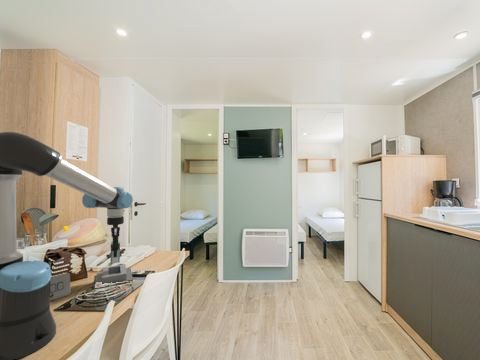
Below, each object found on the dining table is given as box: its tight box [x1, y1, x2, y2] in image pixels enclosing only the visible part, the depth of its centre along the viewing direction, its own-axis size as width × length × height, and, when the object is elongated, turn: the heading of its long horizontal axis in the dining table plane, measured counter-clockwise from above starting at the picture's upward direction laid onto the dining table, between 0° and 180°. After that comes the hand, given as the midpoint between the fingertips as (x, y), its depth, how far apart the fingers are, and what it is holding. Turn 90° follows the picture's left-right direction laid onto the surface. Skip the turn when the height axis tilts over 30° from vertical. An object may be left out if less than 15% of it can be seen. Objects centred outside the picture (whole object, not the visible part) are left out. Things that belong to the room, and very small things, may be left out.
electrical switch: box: [50, 272, 72, 302], centre depth 93 cm, size 9×5×9 cm, turn 141°
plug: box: [110, 240, 121, 265], centre depth 112 cm, size 4×4×10 cm
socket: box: [94, 263, 134, 284], centre depth 111 cm, size 18×16×4 cm
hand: (115, 261), depth 111 cm, fingers closed on plug, 4 cm apart
